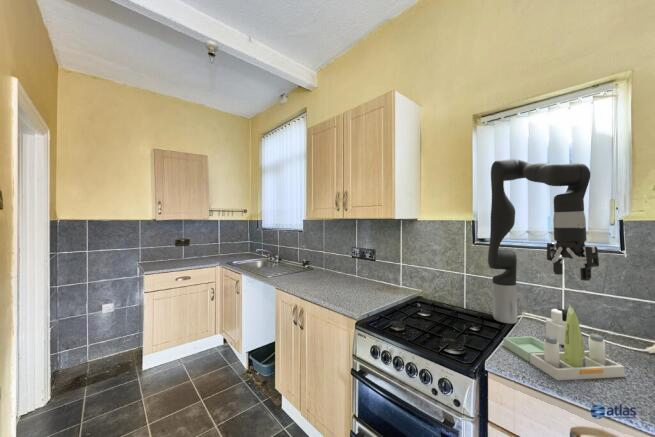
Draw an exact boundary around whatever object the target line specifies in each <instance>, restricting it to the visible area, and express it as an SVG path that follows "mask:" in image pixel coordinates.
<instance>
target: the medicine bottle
mask: <svg viewBox="0 0 655 437" xmlns="http://www.w3.org/2000/svg"><path fill="white" fill-rule="evenodd" d="M567 312H568V309H563V308H552V309H551V310H550V315H551V316H550V317H551V318H548V319H547V318H546V319H545V336H552V337H555V338H557V342H558V343H559V346H564V341H565V327H566V318H567Z"/></svg>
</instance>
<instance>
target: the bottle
mask: <svg viewBox="0 0 655 437" xmlns="http://www.w3.org/2000/svg"><path fill="white" fill-rule="evenodd" d="M543 342H544V360H545V361H546V362H547V363H549V364H551V365H552V366H554V367H556V368H557V369H558V368H560V357H559V351H560V345H559V343H558V342H557V338H555V337H552V336H546V335H545V337H544V339H543Z"/></svg>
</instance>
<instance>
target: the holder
mask: <svg viewBox="0 0 655 437" xmlns="http://www.w3.org/2000/svg"><path fill="white" fill-rule="evenodd" d="M584 353H585V363H586V367H577V368H574V367H572V366H570V365H568V364H566V363H565V362H564V351H560V352H559V357H560V368H558V369H557V368H556V367H554V366H552V365H551V364H549V363H547V362H546V361H545V360H544V353H532V354H530V364H531V365H533V366H535V367H536V368H538V369H539V370H541V371H542V372H544V373H546V374H547V375H548V376H550V377H551V378H553V379H554V380H556V381H567V380H568V381H570V380H572V381H574V380H589V379H590V380H591V379H607V378H608V379H609V378H611V379H612V378H625V377H626V370H625V366H624V365H622V364H620V363H617V362H616V361H613V360H611V359H609V358H607V357H606V366H604V365H602V364H600V363H598V362H596V361H594V360H592V359H590V358H589V350H584Z"/></svg>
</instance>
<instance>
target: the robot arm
mask: <svg viewBox="0 0 655 437" xmlns="http://www.w3.org/2000/svg"><path fill="white" fill-rule="evenodd" d="M520 179H526V180H528V181H529V182H535V183H538V184H539V183H541V184H545V185H547V186H550V187H567V188H566V191H565V192H564V193H563V192H562V193H558V194H557V195H555V196H553V221H552V222H553V240H554V241H555V242H547V243H546V260H547V261H550V262H551V263H552V266H553V273H554V275H557V276H558V275H559V276H560V275H563V263H562V262H563V261H564V260H565V259H566V258H568V259H571V260H572V259H573V260H574V262H577V263H578V264H579V266H580V268H579V269H580V280H581V281H587V282H588V281H590V280H591V279H592V268H595V267H599V266H600V262H599V259H600V258H599V252H598V250H599V249H598V247H597V246H595V245H589V246H586V243H585V242H587V240H588V239H587V219H586V214H585V201H584V199H585V195H586V193H587V189H588V186H589V183H590V181H591V180H590V179H591V170H590V168H589V167H588V166H587V165H586V164H585V163H580V162H578V163H556V164H555V163H552V162H548V163H547V162H528V161H525V160H521V159H517V158H516V159H515V158H511V159H509V158H508V159H500V160H495V161H493V163H492V164H491V167H490V186H491V206H490V234H489V235H490V236H489V237H490V238H489V245H488V253H487V263H488V266H489V268H490V269H493V270H505V271H504V272H502V273H499V274H497V275H494V276H493V277H492V297H491V303H492V304H491V307H492V309H491V311H492V318H493V319H494V320H496V321H497V322H501V323H505V324H510V325H511V324H517V323H518V298H517V262H518V261H517V254H516V252H515V251H514V250H513V249H500V246H501V243H502V242H503V240H504V238H505V237H506V236H507V235H508V234H509V233H510V232H511V230H512V229H513V228H514V226H515V224H516V223H515V222H516V221H515V220H516V209H515V206H514V205H513V203H512V202H511V200H510V199H509V197H508V196H507V194H506V192H505V185H504V184H505V183H504V182H509V181H515V180H520Z"/></svg>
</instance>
